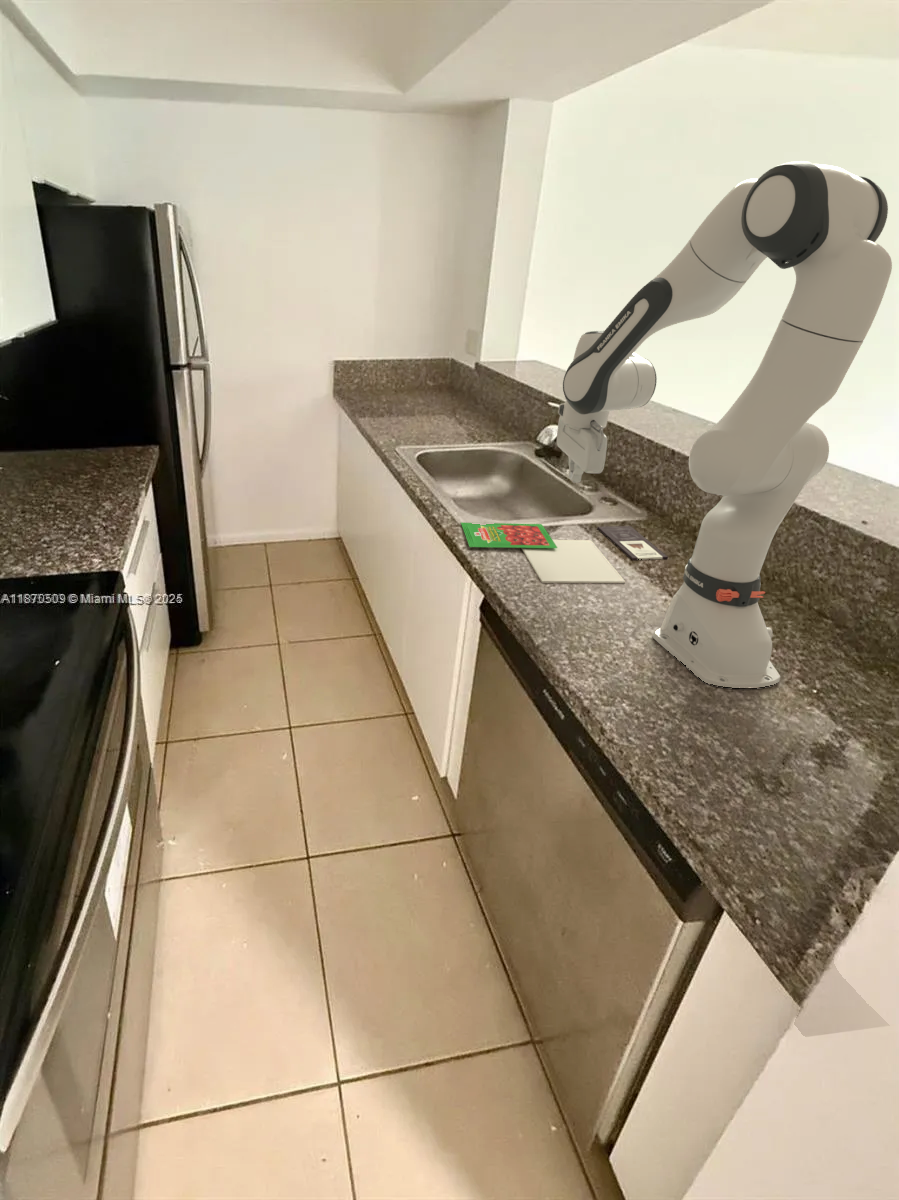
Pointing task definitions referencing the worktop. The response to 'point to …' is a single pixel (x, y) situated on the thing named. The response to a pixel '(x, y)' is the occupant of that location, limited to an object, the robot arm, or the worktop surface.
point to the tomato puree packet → (507, 535)
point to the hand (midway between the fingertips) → (574, 480)
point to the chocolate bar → (632, 543)
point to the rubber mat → (572, 563)
